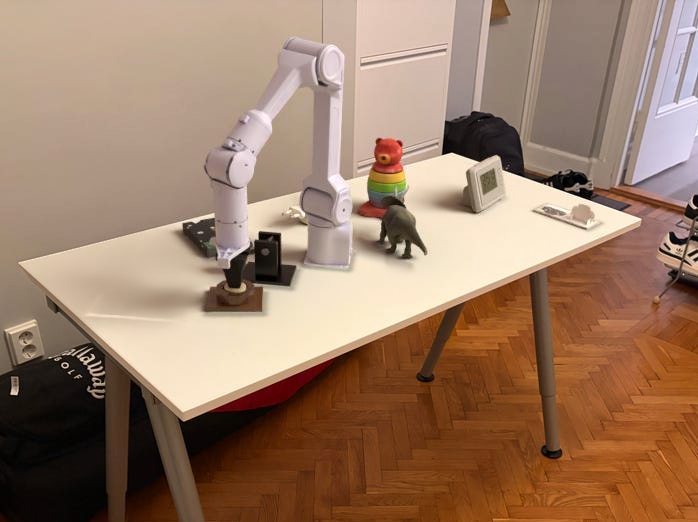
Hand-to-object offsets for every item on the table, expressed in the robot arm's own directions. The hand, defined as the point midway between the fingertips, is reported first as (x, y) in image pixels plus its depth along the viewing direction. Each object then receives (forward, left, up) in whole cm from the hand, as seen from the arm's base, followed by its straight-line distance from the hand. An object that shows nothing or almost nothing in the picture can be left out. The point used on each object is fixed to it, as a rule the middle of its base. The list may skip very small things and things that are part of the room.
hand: (235, 286), depth 133 cm
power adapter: (-7, -40, -4) cm, 40 cm away
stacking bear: (-25, -51, -4) cm, 56 cm away
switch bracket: (-4, -12, -4) cm, 13 cm away
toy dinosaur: (-29, -30, -4) cm, 42 cm away
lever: (0, -12, 0) cm, 12 cm away
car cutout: (-71, -57, -4) cm, 91 cm away
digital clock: (-50, -62, -4) cm, 79 cm away
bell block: (0, 0, -4) cm, 4 cm away
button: (0, 0, -2) cm, 2 cm away
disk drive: (+10, -26, -4) cm, 28 cm away
